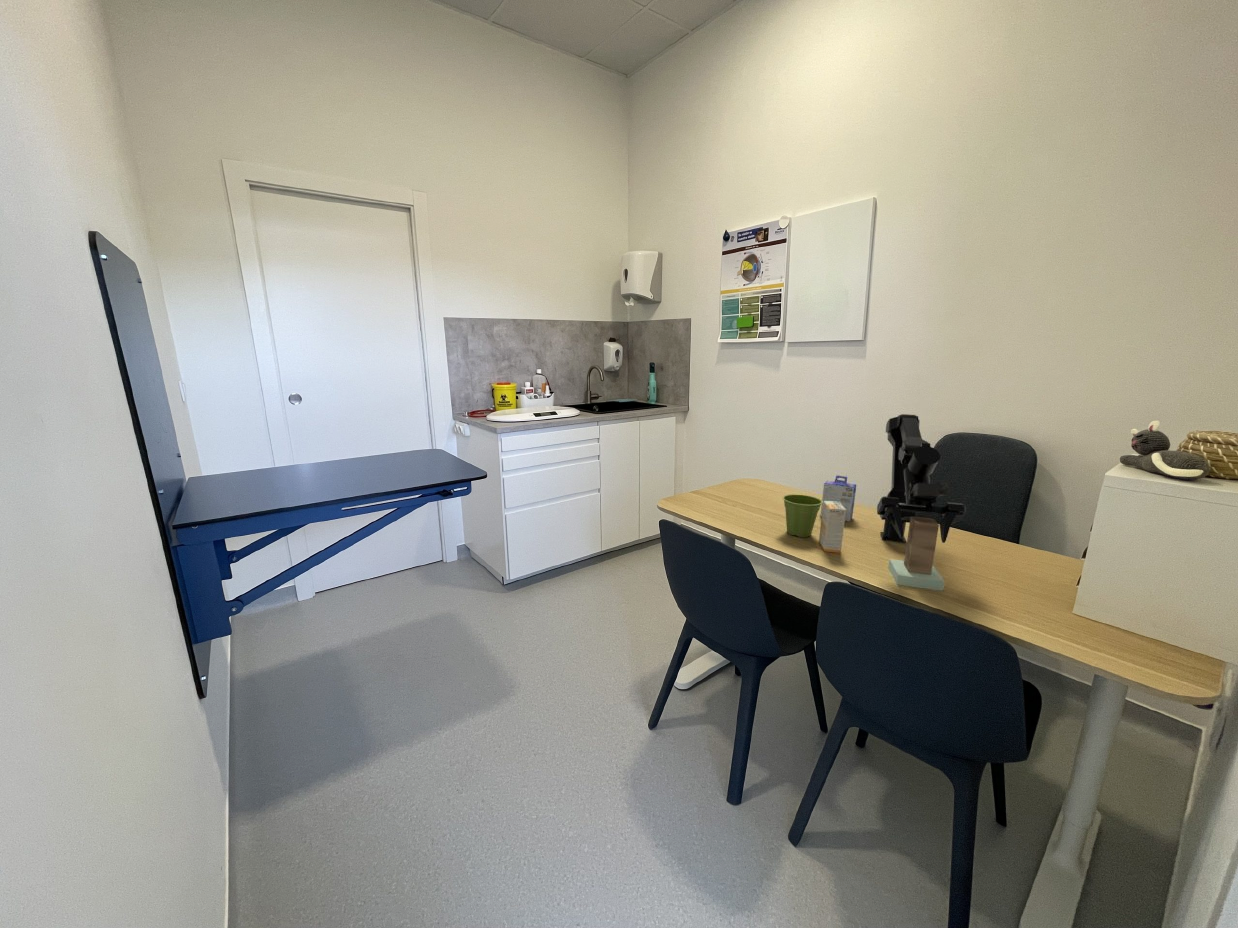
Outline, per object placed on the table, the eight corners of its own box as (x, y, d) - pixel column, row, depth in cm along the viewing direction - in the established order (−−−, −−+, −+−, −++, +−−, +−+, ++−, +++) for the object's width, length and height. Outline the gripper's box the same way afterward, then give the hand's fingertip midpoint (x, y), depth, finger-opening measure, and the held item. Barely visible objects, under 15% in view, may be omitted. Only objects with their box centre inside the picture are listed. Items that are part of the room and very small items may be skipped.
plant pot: (826, 535, 152) (831, 501, 150) (803, 543, 146) (807, 507, 143) (794, 524, 162) (798, 491, 159) (771, 531, 155) (774, 497, 153)
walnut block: (903, 563, 127) (910, 516, 124) (925, 566, 125) (933, 518, 122) (908, 571, 122) (915, 522, 119) (931, 574, 121) (938, 524, 118)
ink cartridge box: (852, 517, 169) (858, 477, 166) (850, 522, 165) (856, 481, 161) (822, 512, 174) (827, 473, 171) (819, 516, 170) (824, 476, 166)
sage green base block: (888, 569, 130) (889, 559, 130) (930, 575, 127) (932, 564, 127) (896, 586, 121) (898, 575, 120) (942, 592, 118) (944, 581, 117)
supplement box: (841, 553, 139) (847, 509, 136) (823, 551, 140) (828, 508, 137) (835, 542, 147) (840, 501, 144) (818, 541, 148) (823, 499, 145)
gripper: (885, 466, 124) (889, 521, 116) (970, 472, 119) (980, 530, 111) (875, 487, 133) (877, 540, 125) (954, 494, 128) (961, 549, 120)
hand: (922, 539), depth 120 cm, fingers open, 9 cm apart
